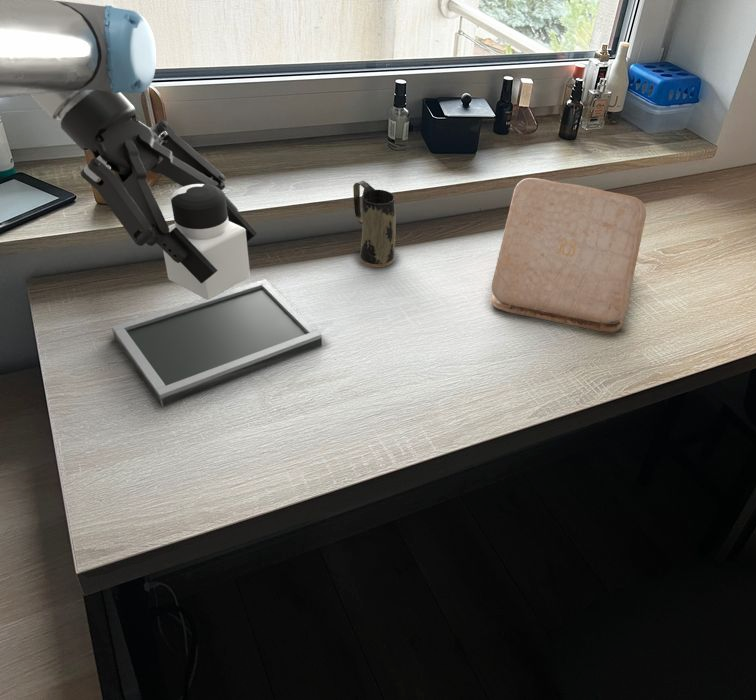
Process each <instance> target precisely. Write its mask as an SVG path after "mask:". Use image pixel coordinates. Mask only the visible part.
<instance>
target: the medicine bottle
mask: <svg viewBox="0 0 756 700" xmlns="http://www.w3.org/2000/svg"><path fill="white" fill-rule="evenodd" d="M226 197H227V196H226V193H225V192H224V191H223V190H220V189H219V188H217V187H215V186H212V185H206V184H192V185H187V186H184V187H183V186H181V187H179V188H177V189H175V190H174V191H173V193H172V194H171V196H170V202H171V203H170V204H171V209H172V215H173V221H174V223H172V224H170V225H168V227H169V232H171V231H172V230H173V229H174V228H175V227H177V228H178V230H179V231H180V232H181V233H182V234H183V235H184V236H185V237H186V238H187V239H188V240H189V241H190V242H191V243H192V244H193V245H194V246H195V247H196V248H197V249H198V250H199V251H200V252H201V254H202V255H203V256H204V257H205V258H206V259H207V260H208V261H209V262H210V263H211V264H212V265H213V266H214V267H215V268H216V269H217V270H218V271H217V272H216V273H214V274H213V275H212V276H211V277H209V278H208V279H207V280H206V281H204V282H203V283H202V284H201V283H200V282H199V281H198V280H197V279H196V278H195V277H194V276H193V275H192V274H191V273H190V272H189V271H188V270H187V268H186V267H185V266H184V265H183V264H182V263H181V262H180V263H177V262H175V261H174V260H173V259H172V258H171V257H170V256H169V255H168V254H167V253H166V252H165V251H164V250H163V249H162V252H163V258H164V263H165V268H166V274H167V279H168V280H169V281H171V282H173V283H175V284H177V285H179V286H180V287H182V288H183V289H186V290H188V291H190V292H191V293H194V294H195V295H197V296H199V297H201V298H205V299H207V300H209V299H211V298H213V297H214V296H216V295H218V294H220V293H222V292H225V291H228V290H230V289H231V288H233V287H234V286H236V285H238V284H240V283H242V282H244V281H246V280H247V279H249V278H250V277H251V269H250V260H249V259H250V258H249V249H248V242H247V239H246V230H245V228H243V227H241V226H239V225H237V224H234V223H232V222H230V221H228V213H227V204H226Z"/></svg>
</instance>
